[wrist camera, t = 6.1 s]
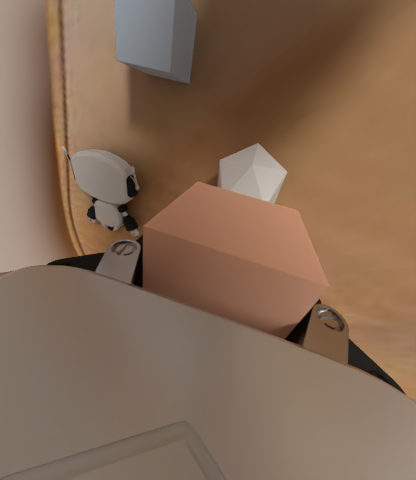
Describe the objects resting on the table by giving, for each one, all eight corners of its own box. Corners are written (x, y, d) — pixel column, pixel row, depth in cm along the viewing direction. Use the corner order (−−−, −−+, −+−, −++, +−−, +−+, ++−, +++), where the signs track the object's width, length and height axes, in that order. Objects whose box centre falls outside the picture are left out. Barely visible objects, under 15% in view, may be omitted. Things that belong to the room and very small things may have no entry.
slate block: (147, 5, 21) (111, -34, 16) (197, 14, 20) (176, -23, 15) (147, 74, 24) (117, 60, 19) (189, 84, 24) (170, 72, 19)
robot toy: (148, 231, 39) (146, 157, 30) (136, 243, 35) (130, 164, 26) (97, 214, 40) (80, 138, 31) (80, 225, 37) (55, 142, 27)
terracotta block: (197, 181, 11) (142, 225, 6) (298, 210, 10) (329, 286, 5) (184, 257, 14) (142, 326, 9) (259, 282, 14) (257, 370, 9)
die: (216, 195, 31) (237, 240, 25) (200, 148, 24) (224, 196, 18) (262, 175, 30) (294, 217, 25) (260, 121, 23) (304, 162, 18)
